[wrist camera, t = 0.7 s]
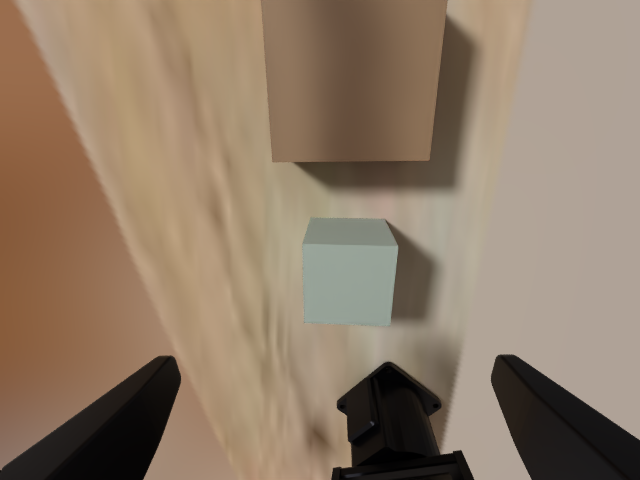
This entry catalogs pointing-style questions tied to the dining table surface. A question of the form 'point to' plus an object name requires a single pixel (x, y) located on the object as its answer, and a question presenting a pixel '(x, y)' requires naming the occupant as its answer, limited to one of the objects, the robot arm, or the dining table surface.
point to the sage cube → (348, 271)
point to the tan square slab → (352, 78)
